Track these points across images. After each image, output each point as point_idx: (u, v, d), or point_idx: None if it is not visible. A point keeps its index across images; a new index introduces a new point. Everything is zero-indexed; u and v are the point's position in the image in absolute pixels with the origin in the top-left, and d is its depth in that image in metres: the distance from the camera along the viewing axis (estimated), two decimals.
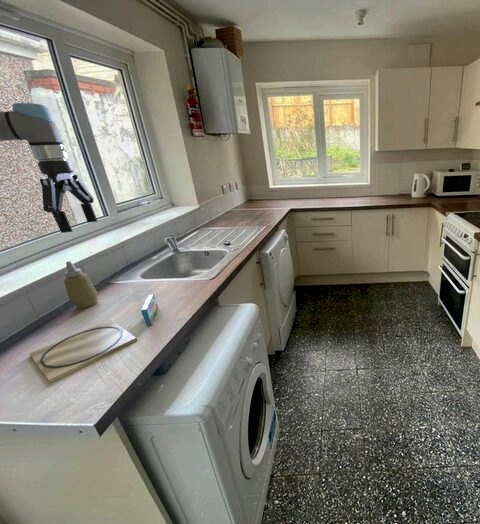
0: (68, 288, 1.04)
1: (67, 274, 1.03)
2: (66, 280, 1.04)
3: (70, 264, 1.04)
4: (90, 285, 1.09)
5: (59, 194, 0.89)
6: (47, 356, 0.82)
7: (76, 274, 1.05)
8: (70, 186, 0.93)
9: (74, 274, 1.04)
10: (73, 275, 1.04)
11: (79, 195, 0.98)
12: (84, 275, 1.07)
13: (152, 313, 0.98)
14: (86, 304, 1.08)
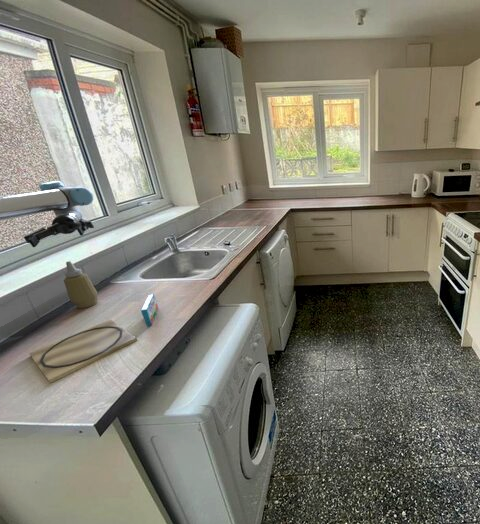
0: (68, 288, 1.04)
1: (67, 274, 1.03)
2: (66, 280, 1.04)
3: (70, 264, 1.04)
4: (90, 285, 1.09)
5: None
6: (47, 356, 0.82)
7: (76, 274, 1.05)
8: None
9: (74, 274, 1.04)
10: (73, 275, 1.04)
11: (45, 235, 1.10)
12: (84, 275, 1.07)
13: (152, 314, 0.98)
14: (86, 304, 1.08)
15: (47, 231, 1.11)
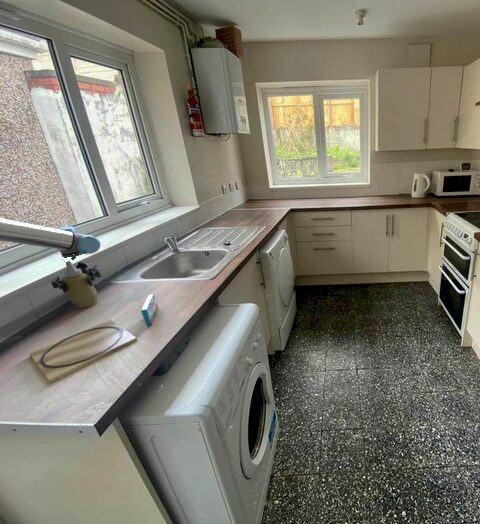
0: (68, 288, 1.04)
1: (67, 274, 1.03)
2: (66, 280, 1.04)
3: (70, 264, 1.04)
4: None
5: None
6: (47, 356, 0.82)
7: (76, 274, 1.05)
8: None
9: (74, 274, 1.04)
10: (73, 275, 1.04)
11: None
12: (84, 275, 1.07)
13: (152, 313, 0.98)
14: (86, 304, 1.08)
15: None
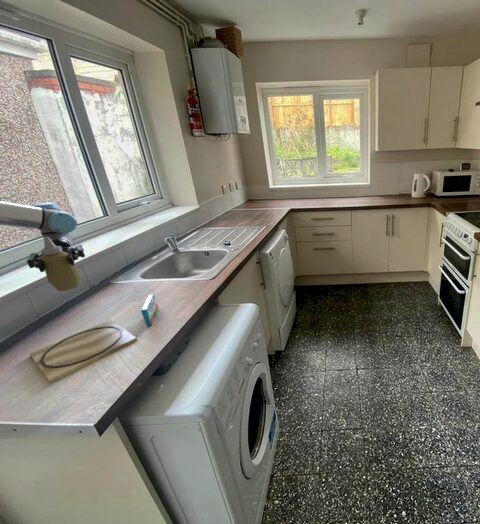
0: (46, 267, 0.92)
1: (45, 251, 0.91)
2: (44, 258, 0.91)
3: (48, 240, 0.92)
4: (72, 265, 0.96)
5: None
6: (47, 356, 0.82)
7: (55, 252, 0.92)
8: None
9: (53, 251, 0.92)
10: (52, 253, 0.92)
11: None
12: (65, 253, 0.95)
13: (152, 313, 0.98)
14: (67, 286, 0.96)
15: None
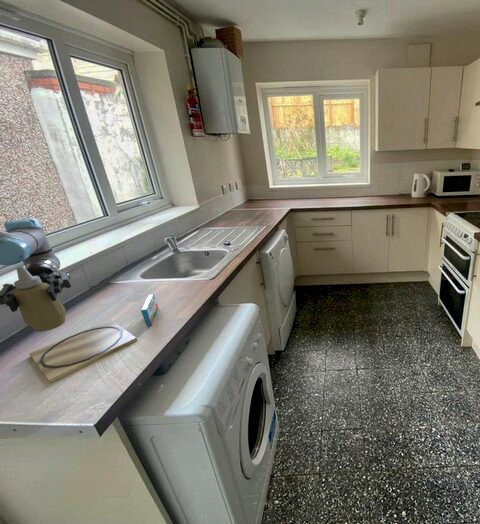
0: (20, 304, 0.73)
1: (18, 284, 0.72)
2: (17, 293, 0.72)
3: (23, 270, 0.73)
4: None
5: None
6: (47, 356, 0.82)
7: (32, 284, 0.73)
8: None
9: (28, 284, 0.73)
10: (27, 286, 0.73)
11: None
12: (44, 285, 0.76)
13: (152, 313, 0.98)
14: (48, 326, 0.77)
15: None
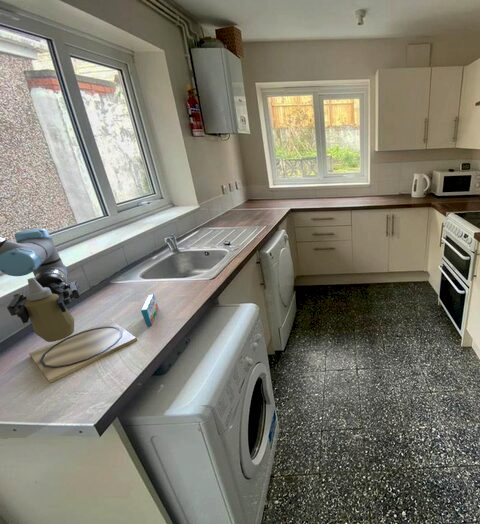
0: (31, 316, 0.74)
1: (29, 296, 0.73)
2: (28, 305, 0.74)
3: (34, 282, 0.74)
4: None
5: None
6: (47, 356, 0.82)
7: (42, 296, 0.75)
8: None
9: (39, 296, 0.74)
10: (38, 297, 0.74)
11: None
12: (54, 297, 0.77)
13: (152, 314, 0.98)
14: (57, 337, 0.78)
15: None
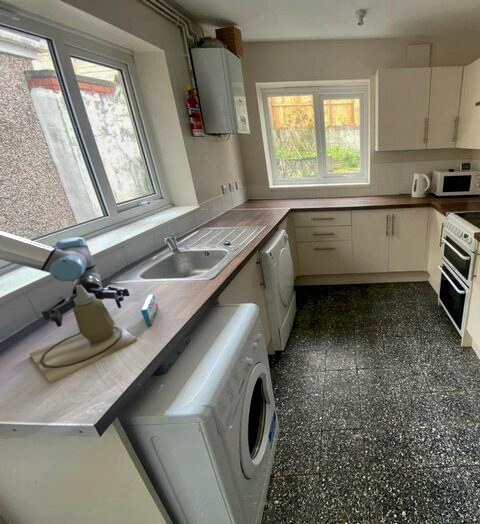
0: (78, 319, 0.83)
1: (77, 301, 0.82)
2: (76, 309, 0.82)
3: (81, 288, 0.82)
4: (105, 313, 0.87)
5: None
6: (47, 356, 0.82)
7: (88, 301, 0.83)
8: None
9: (86, 301, 0.83)
10: (85, 302, 0.82)
11: (68, 307, 0.87)
12: (98, 301, 0.85)
13: (152, 314, 0.98)
14: (101, 338, 0.86)
15: (70, 302, 0.88)
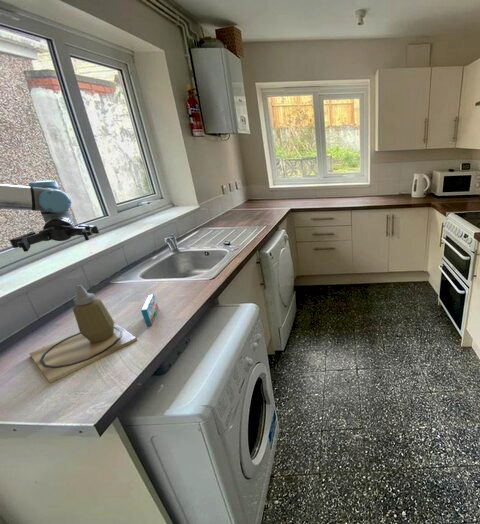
0: (78, 319, 0.83)
1: (77, 301, 0.82)
2: (76, 309, 0.82)
3: (81, 288, 0.82)
4: (105, 313, 0.87)
5: None
6: (47, 356, 0.82)
7: (88, 301, 0.83)
8: (55, 237, 0.95)
9: (86, 301, 0.83)
10: (85, 302, 0.82)
11: (37, 239, 0.90)
12: (98, 301, 0.85)
13: (152, 313, 0.98)
14: (101, 338, 0.86)
15: (39, 235, 0.91)
